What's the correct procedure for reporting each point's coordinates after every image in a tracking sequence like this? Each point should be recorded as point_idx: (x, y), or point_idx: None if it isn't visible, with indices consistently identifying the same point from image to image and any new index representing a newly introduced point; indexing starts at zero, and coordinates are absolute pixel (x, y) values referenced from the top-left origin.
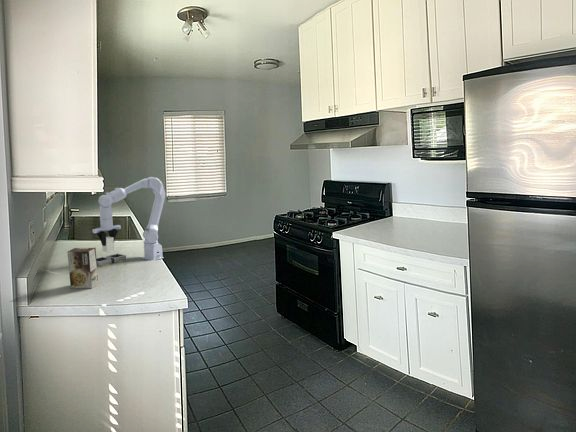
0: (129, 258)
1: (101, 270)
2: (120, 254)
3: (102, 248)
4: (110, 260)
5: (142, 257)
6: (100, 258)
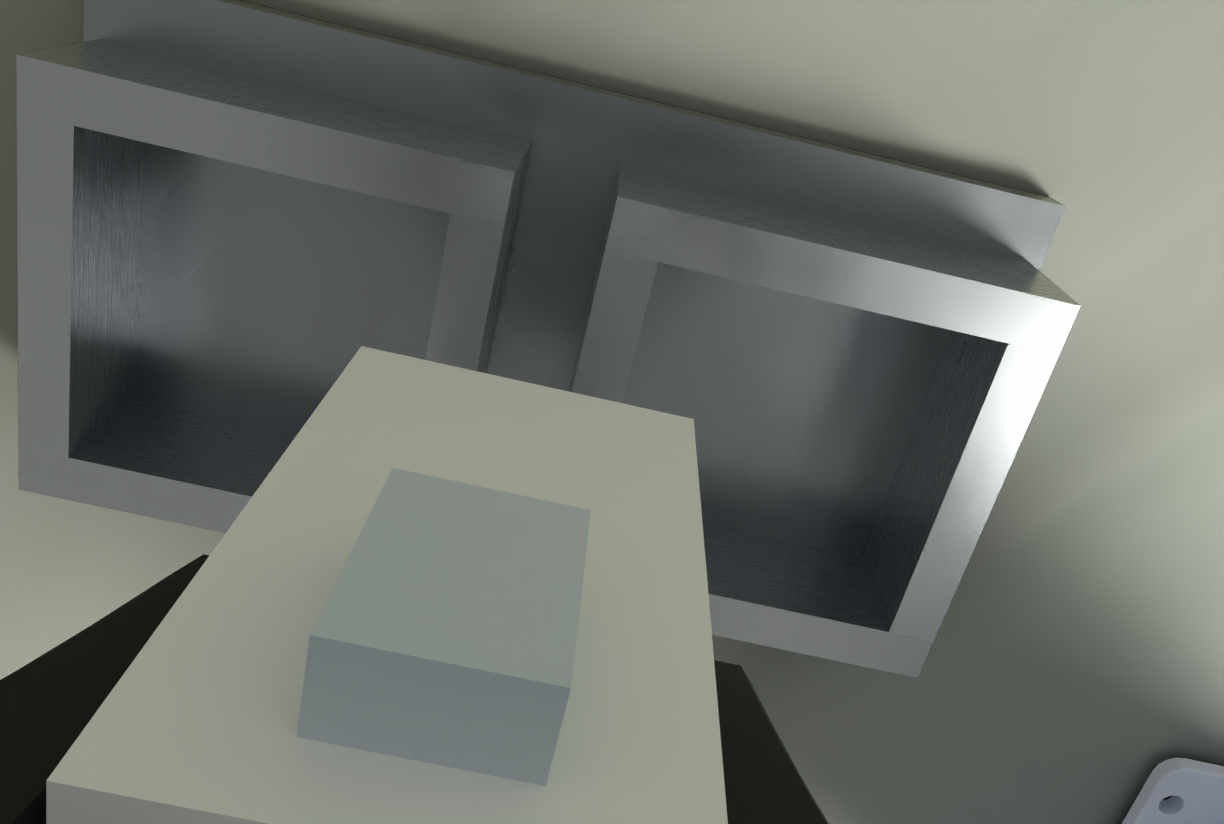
0: (1144, 495)
1: (7, 611)
2: (984, 470)
3: (327, 402)
4: None
5: (1198, 792)
6: (373, 192)
